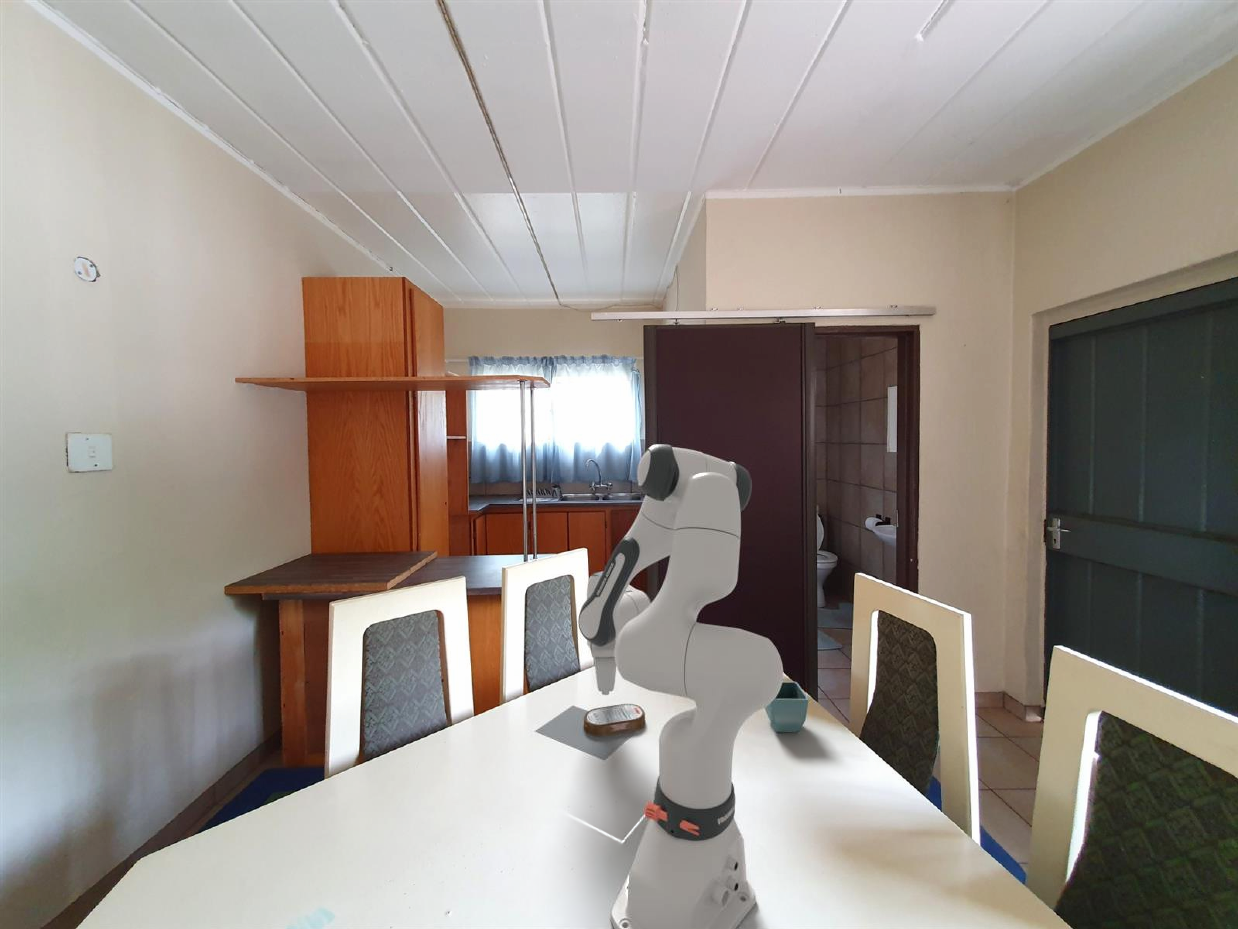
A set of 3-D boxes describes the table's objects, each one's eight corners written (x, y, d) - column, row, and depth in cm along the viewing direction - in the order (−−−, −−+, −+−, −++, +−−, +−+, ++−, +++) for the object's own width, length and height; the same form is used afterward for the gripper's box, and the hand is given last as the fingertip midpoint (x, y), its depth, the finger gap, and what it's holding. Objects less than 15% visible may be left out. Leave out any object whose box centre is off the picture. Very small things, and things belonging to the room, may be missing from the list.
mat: (604, 762, 105) (604, 760, 105) (534, 732, 116) (534, 731, 116) (639, 730, 117) (639, 729, 117) (572, 707, 128) (572, 705, 128)
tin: (580, 720, 121) (587, 742, 113) (580, 708, 121) (588, 729, 112) (638, 710, 125) (650, 731, 117) (638, 698, 125) (650, 718, 117)
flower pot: (809, 738, 113) (809, 699, 113) (770, 737, 114) (770, 699, 113) (796, 717, 122) (796, 681, 122) (760, 717, 122) (760, 681, 122)
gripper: (592, 622, 132) (592, 673, 133) (591, 653, 112) (592, 714, 112) (616, 621, 133) (616, 673, 133) (619, 652, 112) (620, 713, 113)
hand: (605, 692), depth 123 cm, fingers closed
